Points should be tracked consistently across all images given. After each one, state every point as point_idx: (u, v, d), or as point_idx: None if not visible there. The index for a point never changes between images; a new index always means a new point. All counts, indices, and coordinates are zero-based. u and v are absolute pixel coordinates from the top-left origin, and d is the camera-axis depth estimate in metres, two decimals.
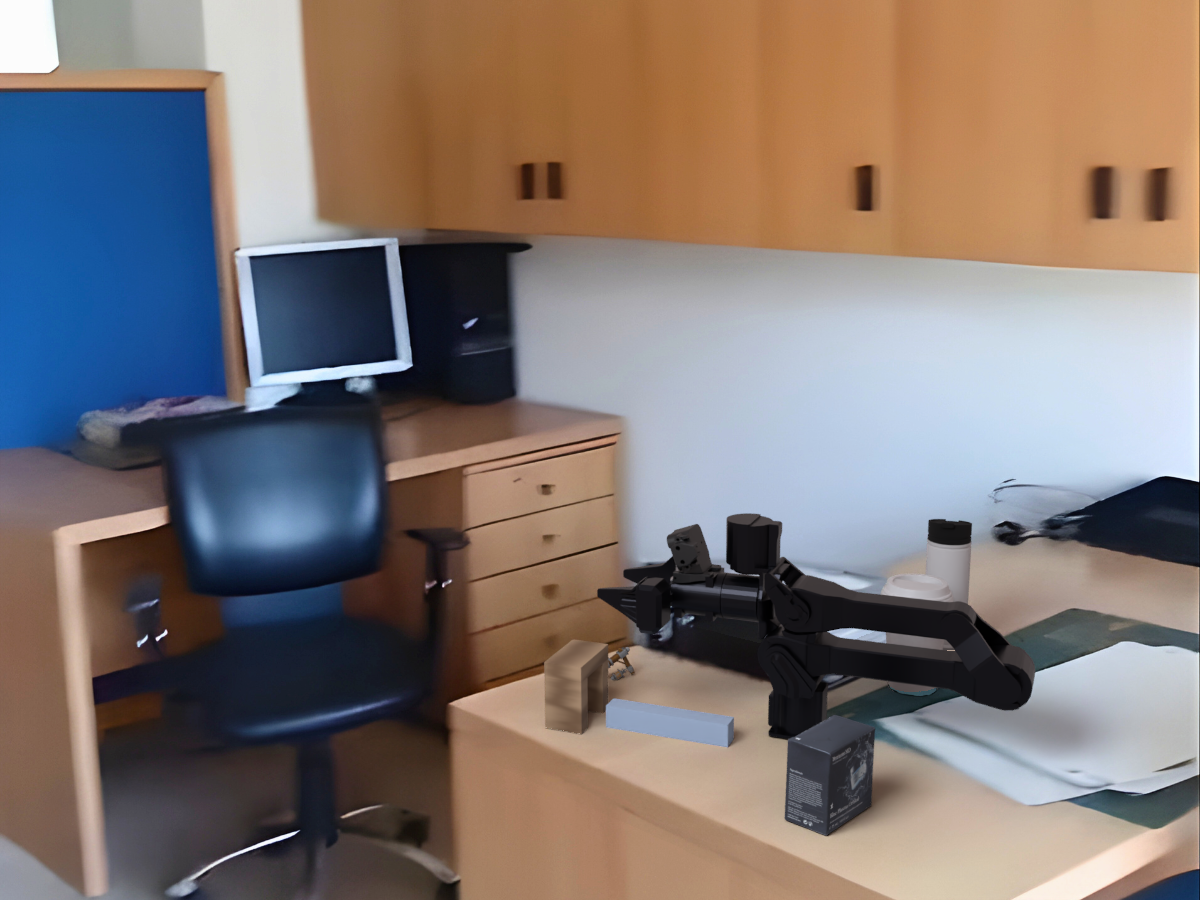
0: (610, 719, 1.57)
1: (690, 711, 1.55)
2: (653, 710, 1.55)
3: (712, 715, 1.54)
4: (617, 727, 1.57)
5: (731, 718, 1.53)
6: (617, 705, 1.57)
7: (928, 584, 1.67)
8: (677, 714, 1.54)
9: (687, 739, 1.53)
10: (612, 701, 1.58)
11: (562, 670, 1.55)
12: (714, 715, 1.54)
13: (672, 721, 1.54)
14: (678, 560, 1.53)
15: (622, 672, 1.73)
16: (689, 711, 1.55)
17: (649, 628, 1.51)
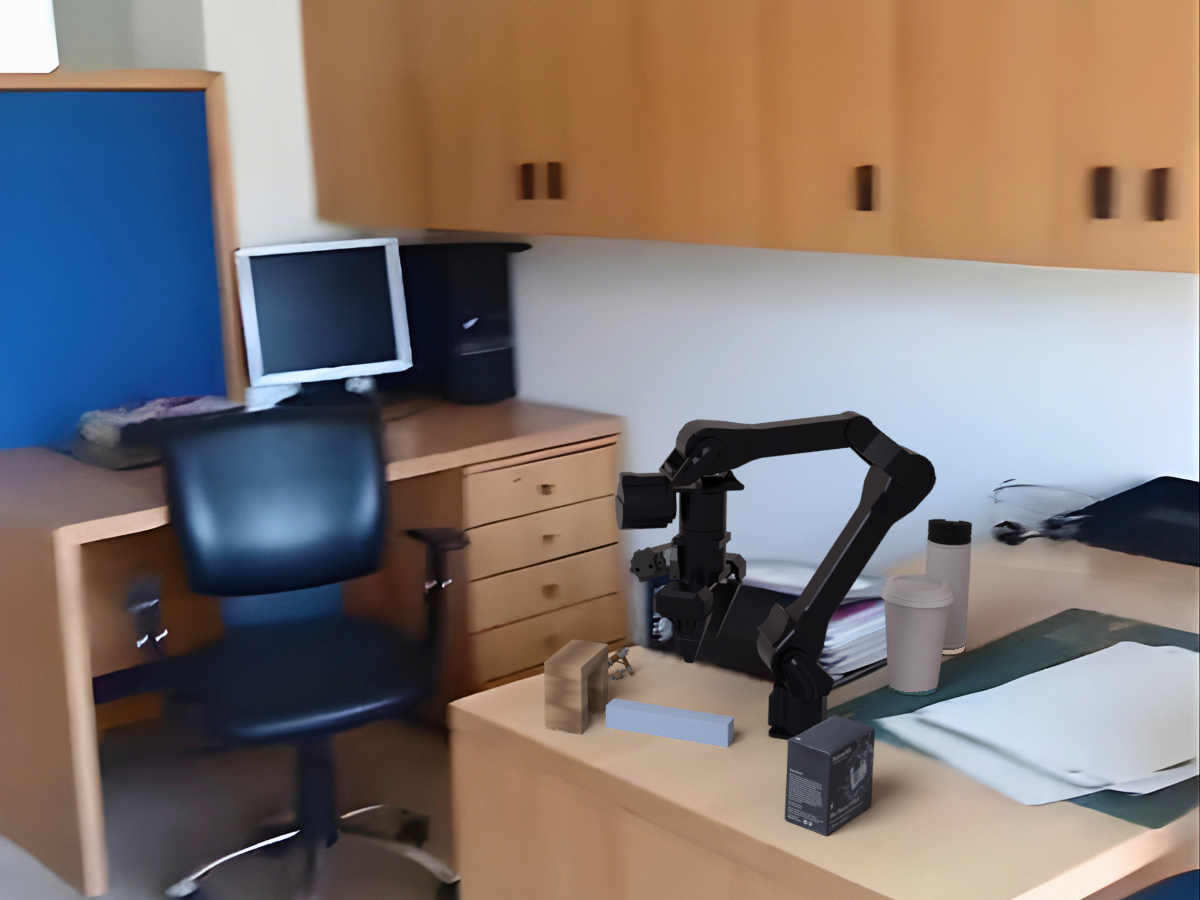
0: (610, 719, 1.57)
1: (690, 711, 1.55)
2: (653, 710, 1.55)
3: (712, 715, 1.54)
4: (617, 727, 1.57)
5: (731, 718, 1.53)
6: (617, 705, 1.57)
7: (928, 584, 1.67)
8: (677, 714, 1.54)
9: (687, 739, 1.53)
10: (612, 701, 1.58)
11: (562, 670, 1.55)
12: (714, 715, 1.54)
13: (672, 721, 1.54)
14: (649, 570, 1.48)
15: (621, 672, 1.73)
16: (689, 711, 1.55)
17: (695, 606, 1.41)
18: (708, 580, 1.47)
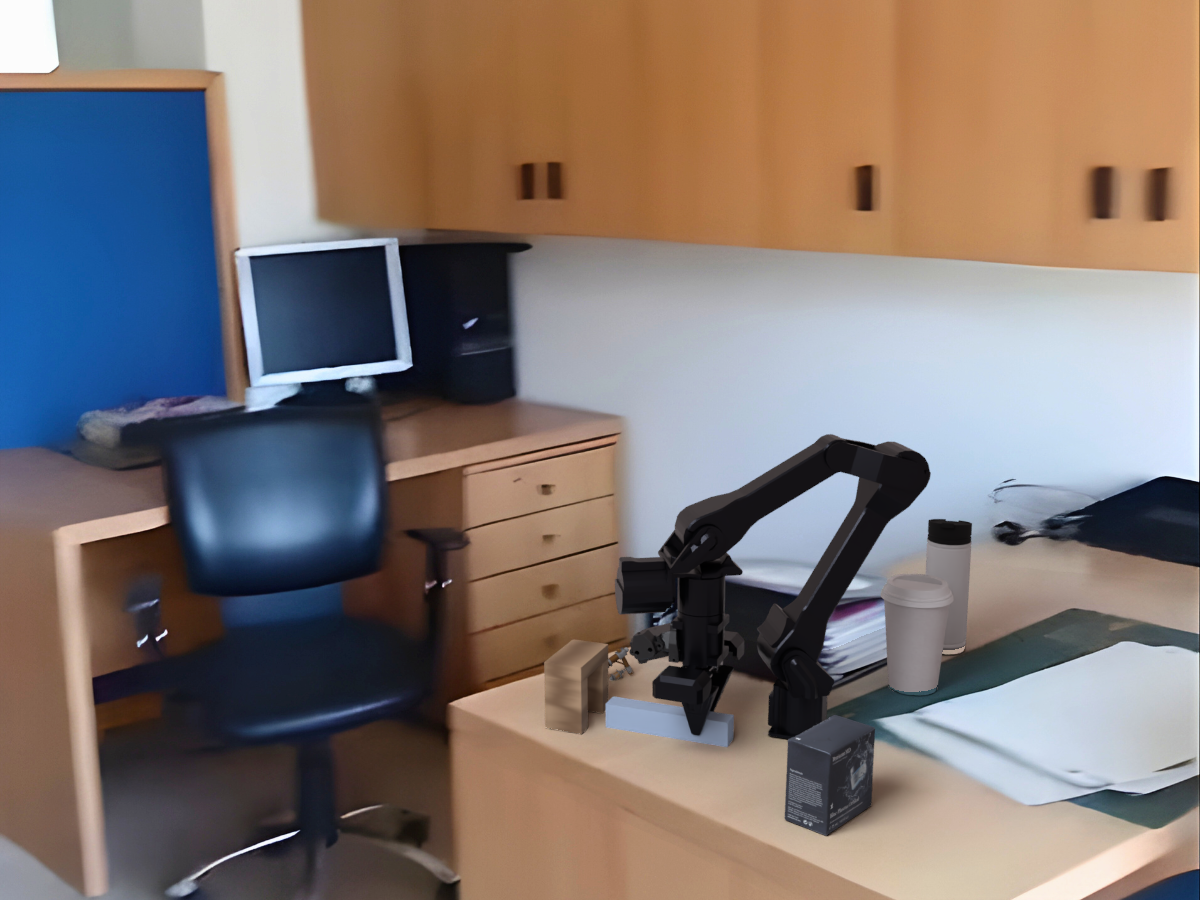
0: (610, 717, 1.57)
1: None
2: (653, 708, 1.55)
3: (712, 713, 1.54)
4: (617, 725, 1.57)
5: (731, 716, 1.53)
6: (617, 703, 1.57)
7: (928, 584, 1.67)
8: (677, 712, 1.54)
9: (687, 737, 1.53)
10: (612, 699, 1.58)
11: (562, 670, 1.55)
12: (713, 712, 1.54)
13: (672, 720, 1.54)
14: (648, 653, 1.50)
15: (621, 672, 1.73)
16: None
17: (693, 693, 1.43)
18: (706, 663, 1.49)
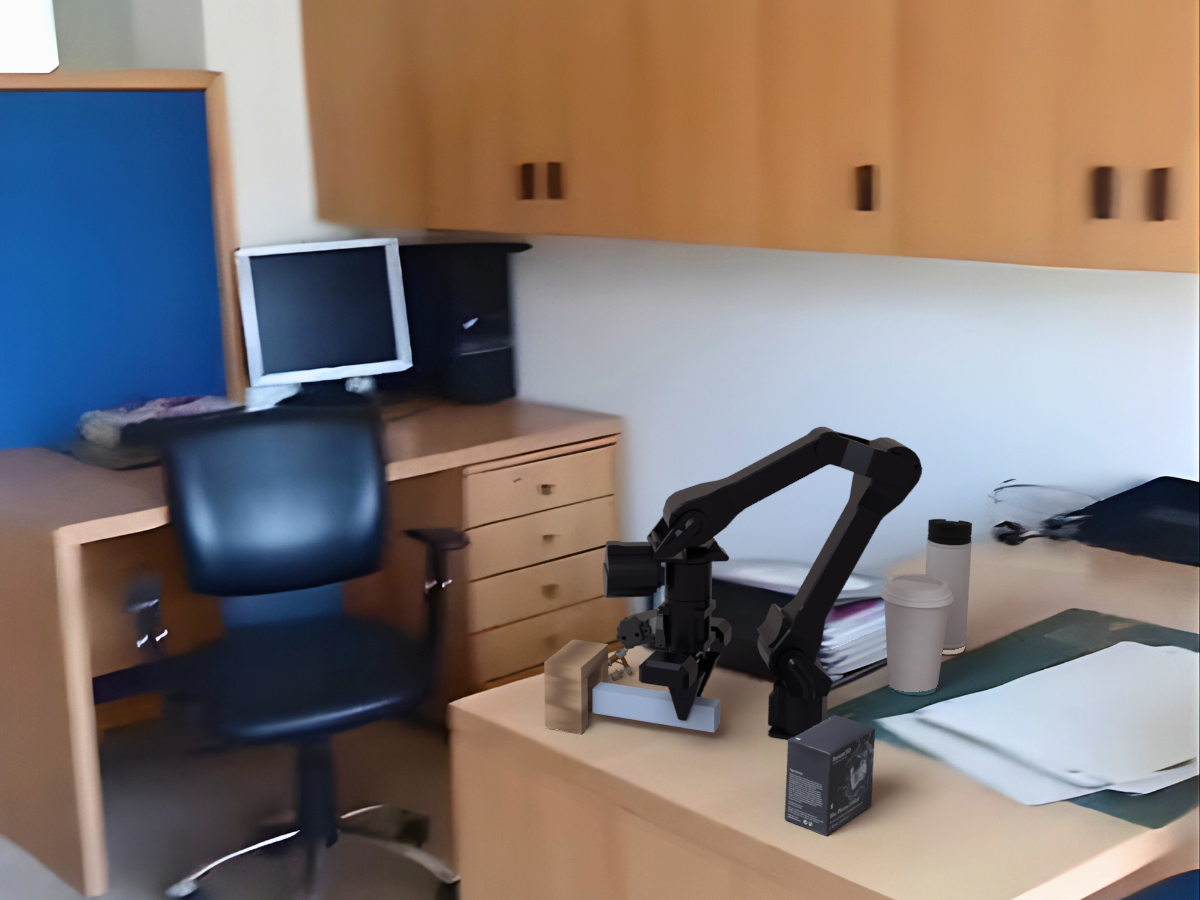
0: (597, 703, 1.57)
1: None
2: (640, 694, 1.55)
3: (698, 698, 1.54)
4: (604, 710, 1.57)
5: (717, 701, 1.53)
6: (604, 688, 1.57)
7: (928, 584, 1.67)
8: (664, 697, 1.54)
9: (673, 722, 1.54)
10: (599, 684, 1.58)
11: (562, 670, 1.55)
12: (700, 698, 1.54)
13: (659, 705, 1.54)
14: (635, 639, 1.50)
15: (620, 673, 1.73)
16: None
17: (680, 677, 1.43)
18: (693, 649, 1.50)
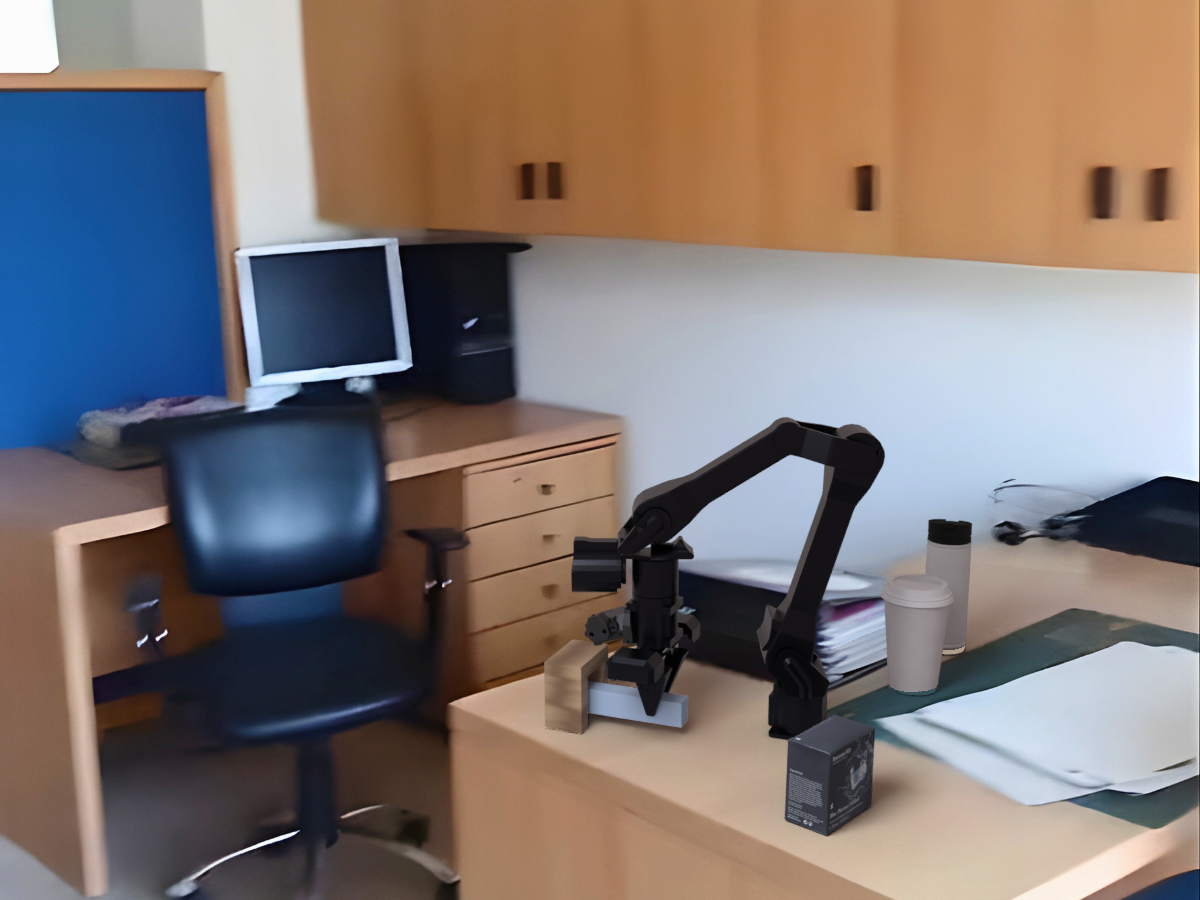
0: None
1: None
2: (609, 690, 1.57)
3: (666, 694, 1.56)
4: None
5: (685, 697, 1.55)
6: None
7: (928, 584, 1.67)
8: (632, 693, 1.56)
9: (642, 718, 1.55)
10: None
11: (562, 670, 1.55)
12: (668, 693, 1.56)
13: (627, 700, 1.56)
14: (602, 635, 1.52)
15: None
16: None
17: (645, 673, 1.45)
18: (660, 645, 1.51)
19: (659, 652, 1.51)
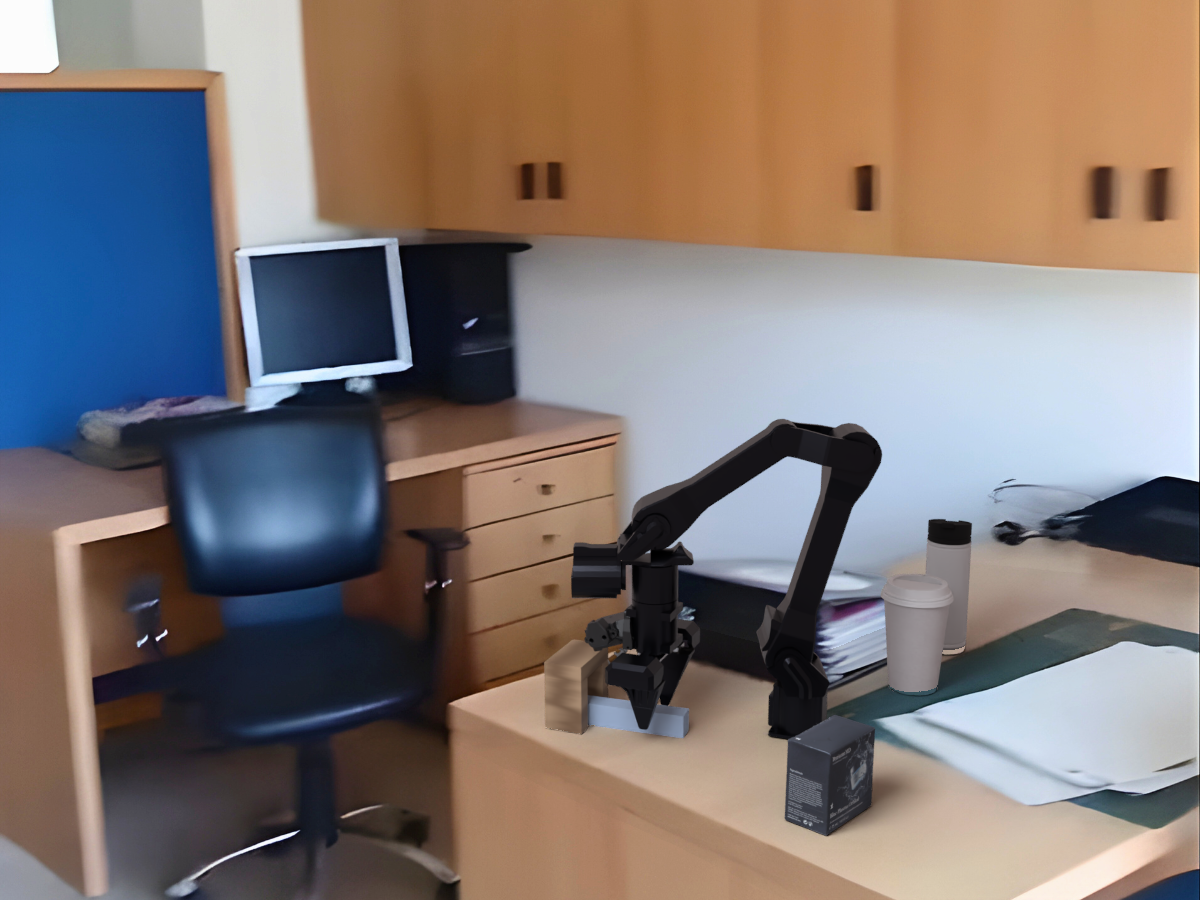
0: None
1: None
2: (609, 704, 1.57)
3: (667, 707, 1.56)
4: None
5: (686, 710, 1.55)
6: None
7: (928, 584, 1.67)
8: None
9: (643, 731, 1.56)
10: None
11: (562, 670, 1.55)
12: (669, 706, 1.56)
13: (629, 714, 1.56)
14: (602, 641, 1.52)
15: None
16: None
17: (644, 679, 1.45)
18: (660, 651, 1.51)
19: None
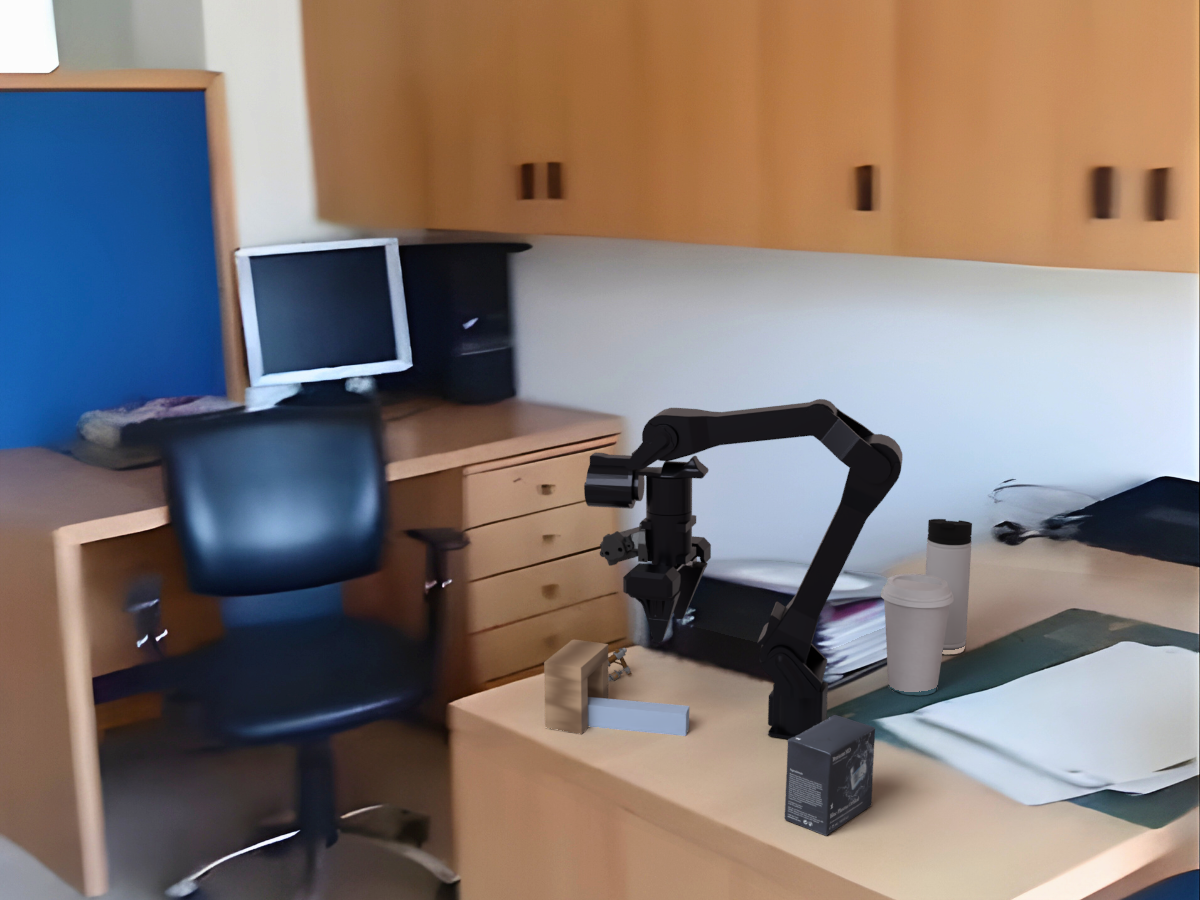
0: None
1: (645, 703, 1.58)
2: (609, 704, 1.57)
3: (668, 705, 1.57)
4: None
5: (687, 707, 1.56)
6: None
7: (928, 584, 1.67)
8: (634, 707, 1.56)
9: (645, 730, 1.56)
10: None
11: (562, 670, 1.55)
12: (669, 705, 1.57)
13: (630, 714, 1.56)
14: (618, 553, 1.54)
15: (619, 673, 1.73)
16: (644, 703, 1.58)
17: (663, 586, 1.47)
18: (675, 562, 1.53)
19: None
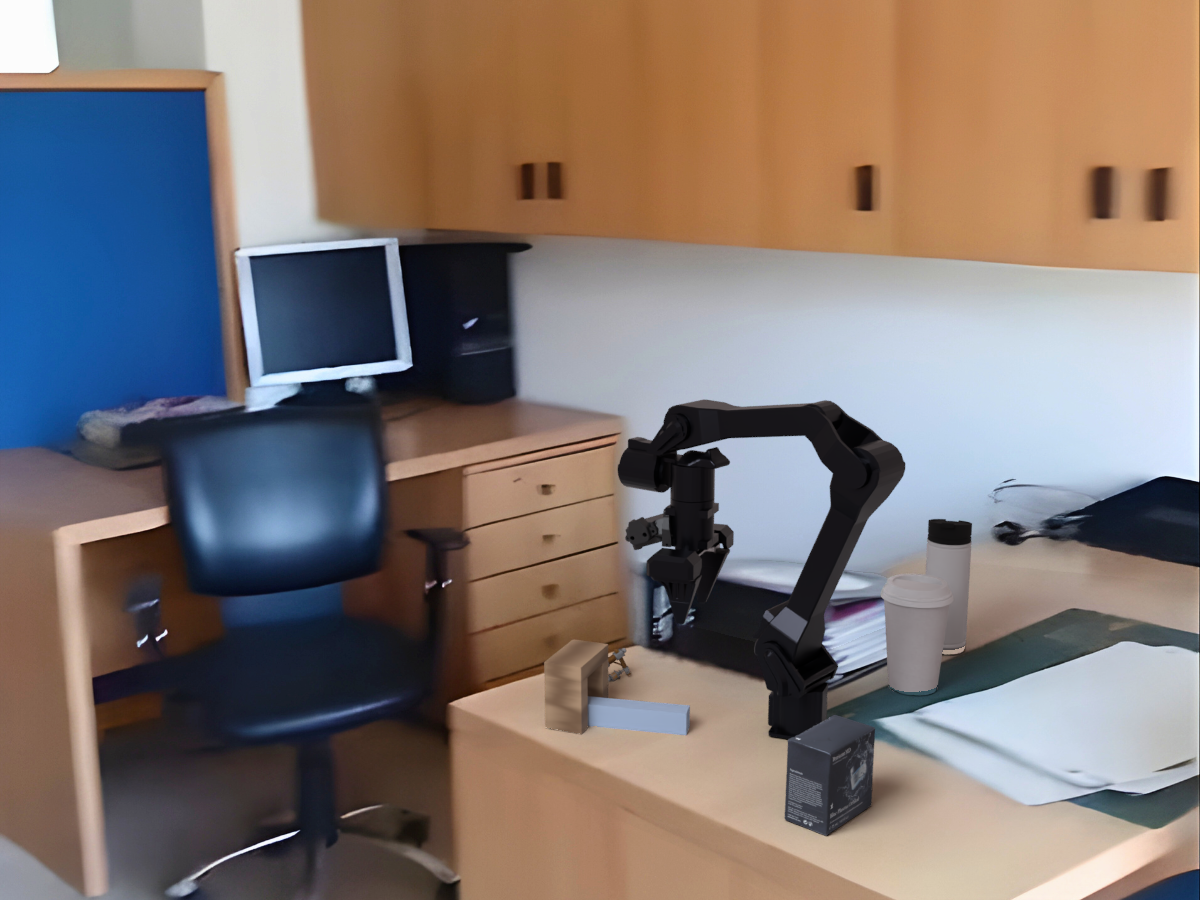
0: None
1: (646, 702, 1.58)
2: (610, 704, 1.57)
3: (668, 705, 1.57)
4: None
5: (687, 707, 1.56)
6: None
7: (928, 584, 1.67)
8: (634, 706, 1.57)
9: (645, 730, 1.56)
10: None
11: (562, 670, 1.55)
12: (670, 704, 1.57)
13: (630, 713, 1.56)
14: (643, 538, 1.60)
15: (618, 673, 1.73)
16: (645, 702, 1.58)
17: (685, 570, 1.53)
18: (697, 547, 1.59)
19: None
